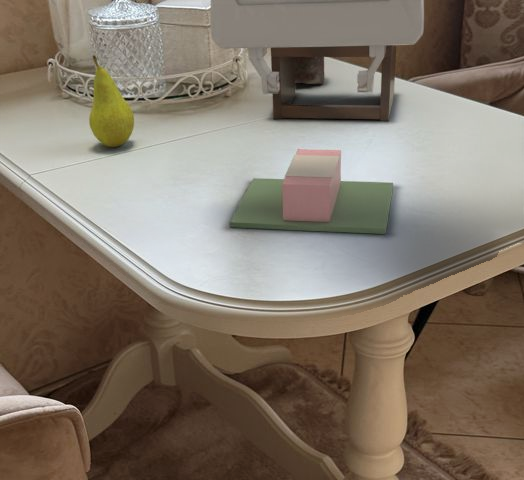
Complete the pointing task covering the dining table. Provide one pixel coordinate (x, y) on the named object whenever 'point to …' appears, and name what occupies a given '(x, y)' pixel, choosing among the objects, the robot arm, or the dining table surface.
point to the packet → (311, 185)
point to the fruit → (109, 111)
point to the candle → (309, 70)
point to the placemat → (342, 220)
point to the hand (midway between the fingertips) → (318, 91)
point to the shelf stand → (283, 109)
